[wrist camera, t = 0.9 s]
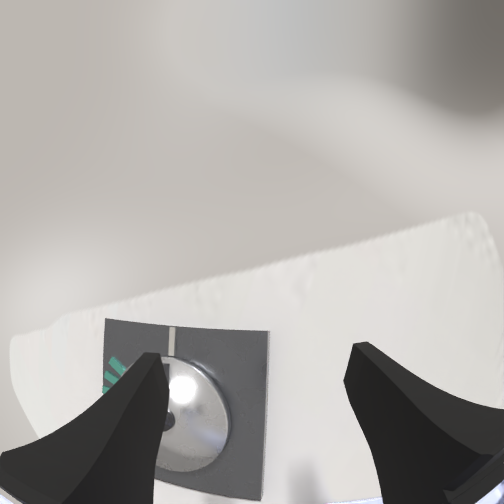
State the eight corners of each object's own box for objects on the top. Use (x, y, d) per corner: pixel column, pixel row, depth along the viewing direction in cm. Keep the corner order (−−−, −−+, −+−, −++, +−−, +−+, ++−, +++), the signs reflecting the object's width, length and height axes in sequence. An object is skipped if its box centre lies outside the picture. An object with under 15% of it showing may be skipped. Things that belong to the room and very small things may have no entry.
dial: (230, 476, 19) (213, 500, 14) (125, 448, 21) (97, 460, 16) (232, 363, 22) (214, 368, 18) (122, 348, 25) (90, 347, 20)
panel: (262, 494, 19) (260, 501, 17) (115, 457, 22) (107, 460, 21) (269, 331, 24) (267, 330, 23) (111, 319, 27) (103, 317, 26)
